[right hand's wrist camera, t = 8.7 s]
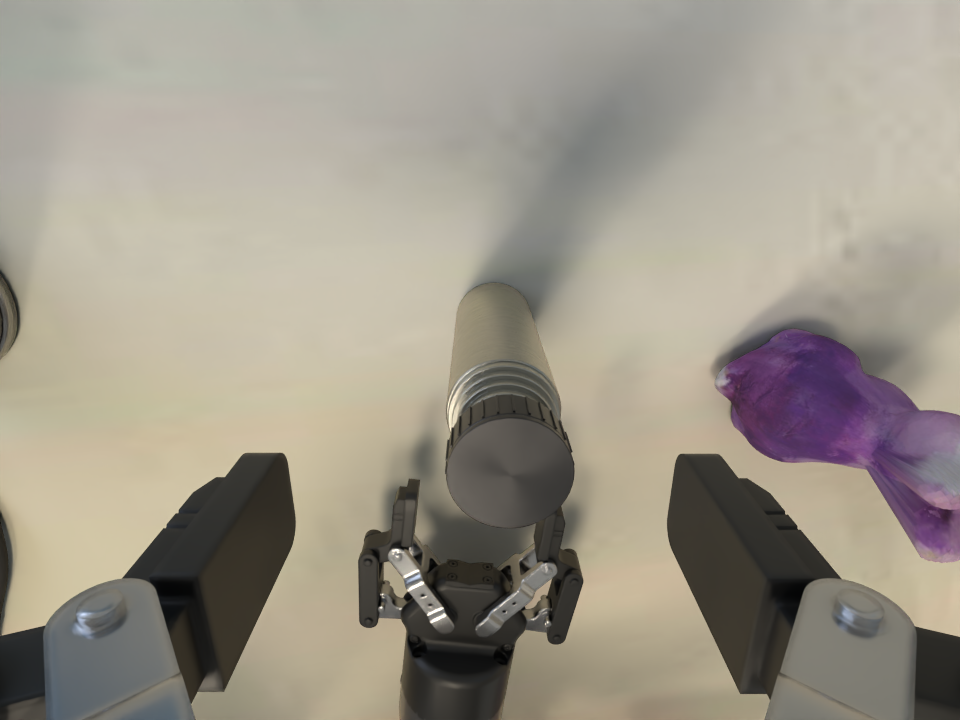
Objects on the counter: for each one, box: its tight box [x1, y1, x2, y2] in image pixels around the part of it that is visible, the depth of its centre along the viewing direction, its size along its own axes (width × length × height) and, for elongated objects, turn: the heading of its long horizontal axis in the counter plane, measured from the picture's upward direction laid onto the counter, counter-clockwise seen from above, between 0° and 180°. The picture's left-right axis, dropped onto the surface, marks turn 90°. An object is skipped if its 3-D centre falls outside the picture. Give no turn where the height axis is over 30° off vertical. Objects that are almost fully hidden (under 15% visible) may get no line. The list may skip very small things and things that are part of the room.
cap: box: [445, 394, 574, 528], centre depth 20 cm, size 4×4×2 cm
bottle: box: [446, 283, 561, 433], centre depth 28 cm, size 5×5×18 cm
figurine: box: [715, 328, 960, 563], centre depth 31 cm, size 9×10×15 cm
